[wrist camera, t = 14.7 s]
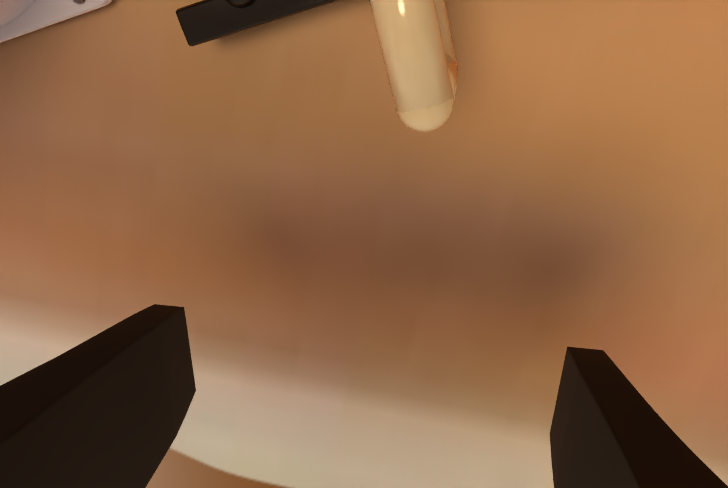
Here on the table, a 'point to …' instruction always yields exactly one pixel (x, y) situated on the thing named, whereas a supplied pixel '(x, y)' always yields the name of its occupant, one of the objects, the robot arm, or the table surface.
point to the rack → (235, 16)
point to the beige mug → (418, 60)
